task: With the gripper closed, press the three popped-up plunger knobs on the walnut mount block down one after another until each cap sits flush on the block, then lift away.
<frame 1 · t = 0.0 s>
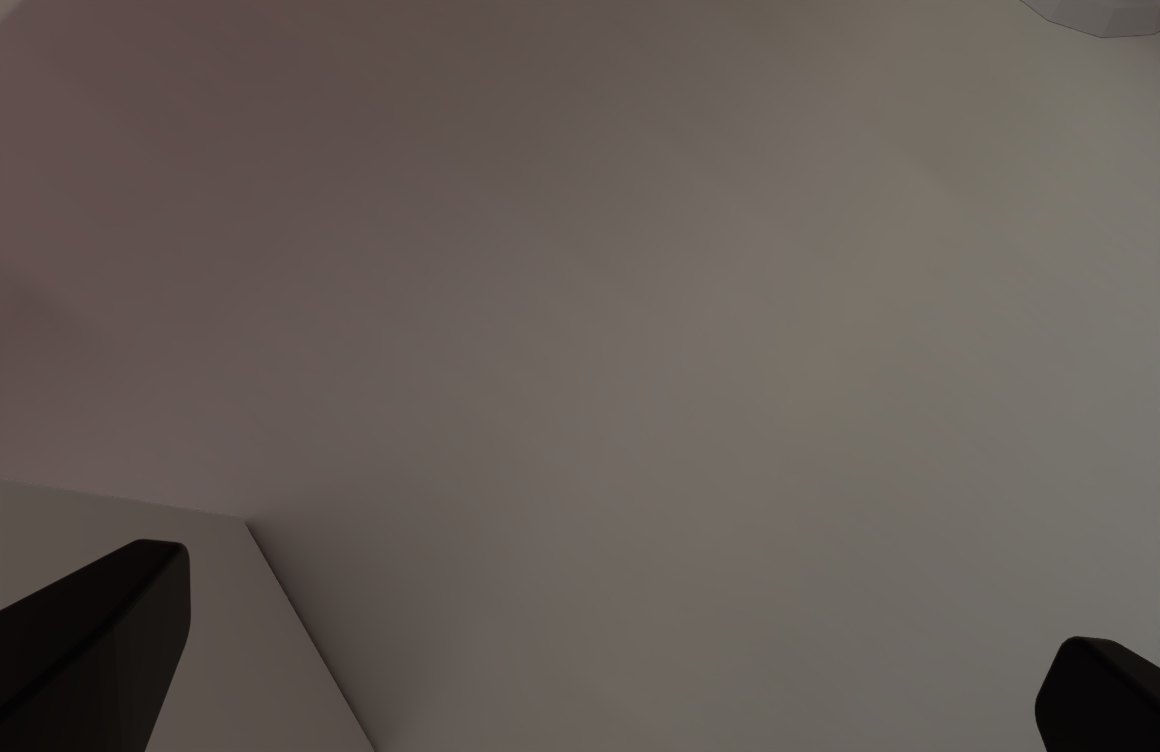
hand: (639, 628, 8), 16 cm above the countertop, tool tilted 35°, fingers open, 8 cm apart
milk carton: (187, 713, 22), on the countertop, touching gripper
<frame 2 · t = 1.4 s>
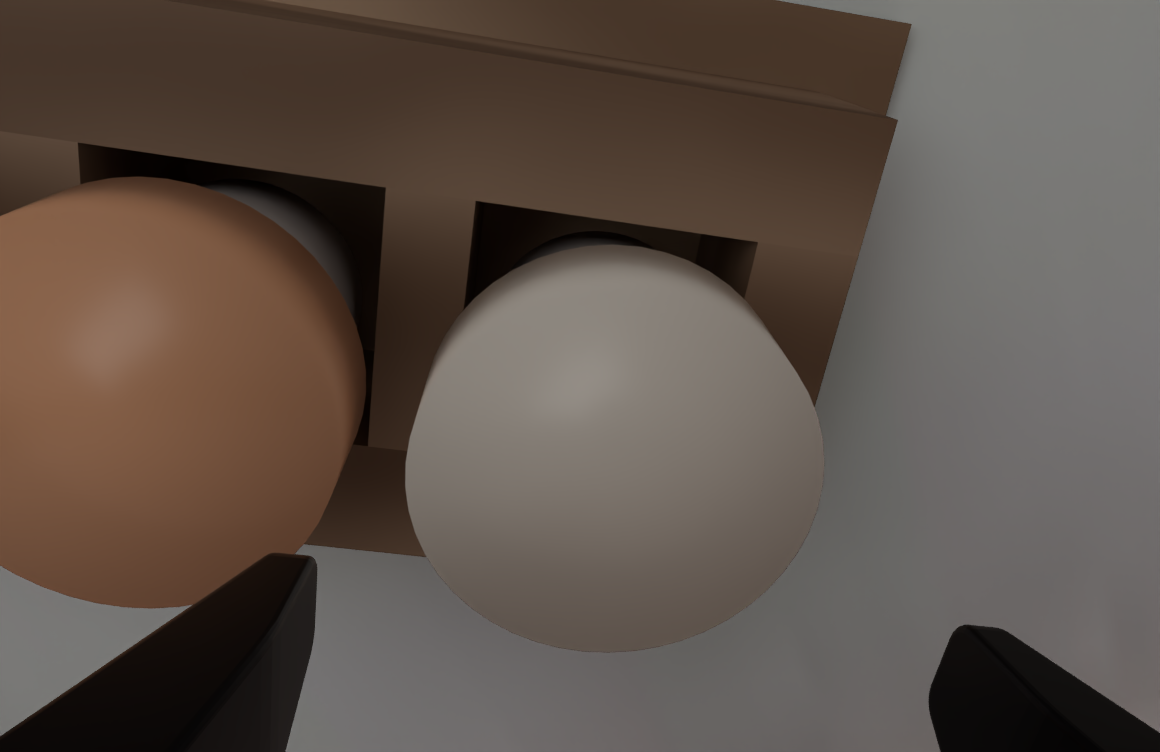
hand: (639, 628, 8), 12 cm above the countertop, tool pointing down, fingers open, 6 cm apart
mount: (307, 231, 19), on the countertop
knob 2: (602, 397, 13), point 7 cm above the countertop, slide at 2.5 cm
knob mid: (195, 345, 13), point 7 cm above the countertop, slide at 2.5 cm
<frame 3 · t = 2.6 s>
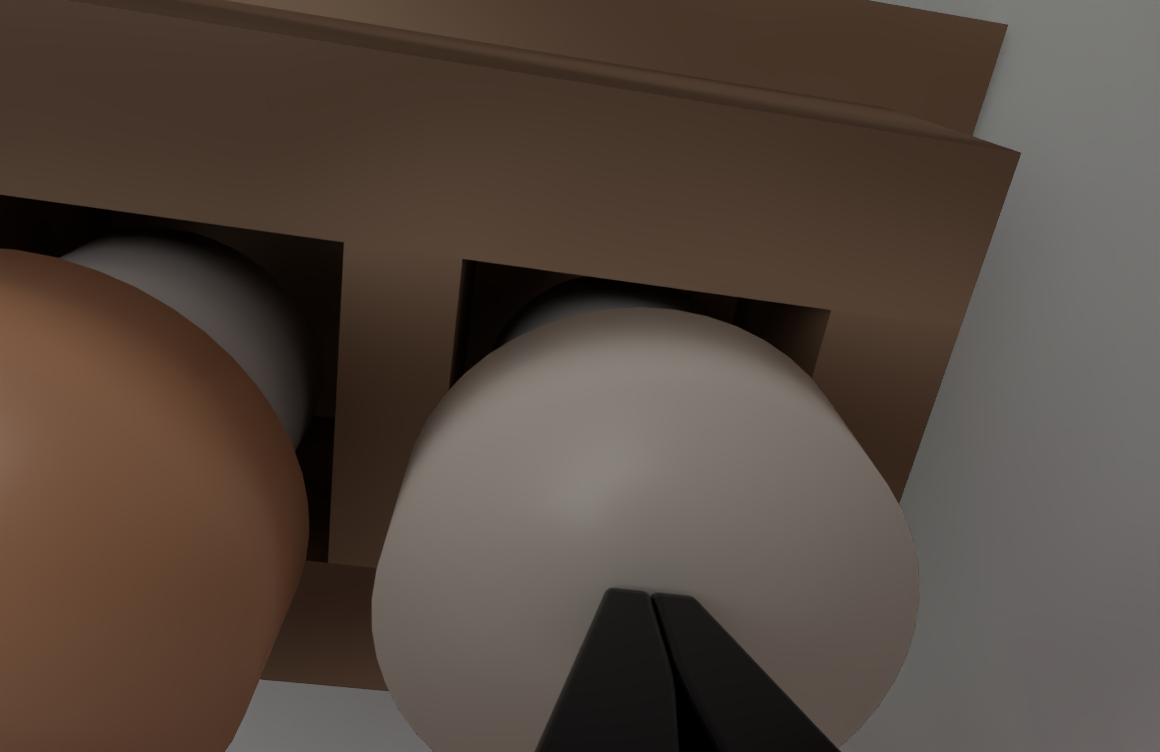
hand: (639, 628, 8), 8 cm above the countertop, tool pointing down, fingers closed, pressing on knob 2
mount: (264, 277, 16), on the countertop
knob 2: (624, 484, 11), point 6 cm above the countertop, slide at 1.6 cm, touching gripper
knob mid: (83, 461, 9), point 7 cm above the countertop, slide at 2.5 cm
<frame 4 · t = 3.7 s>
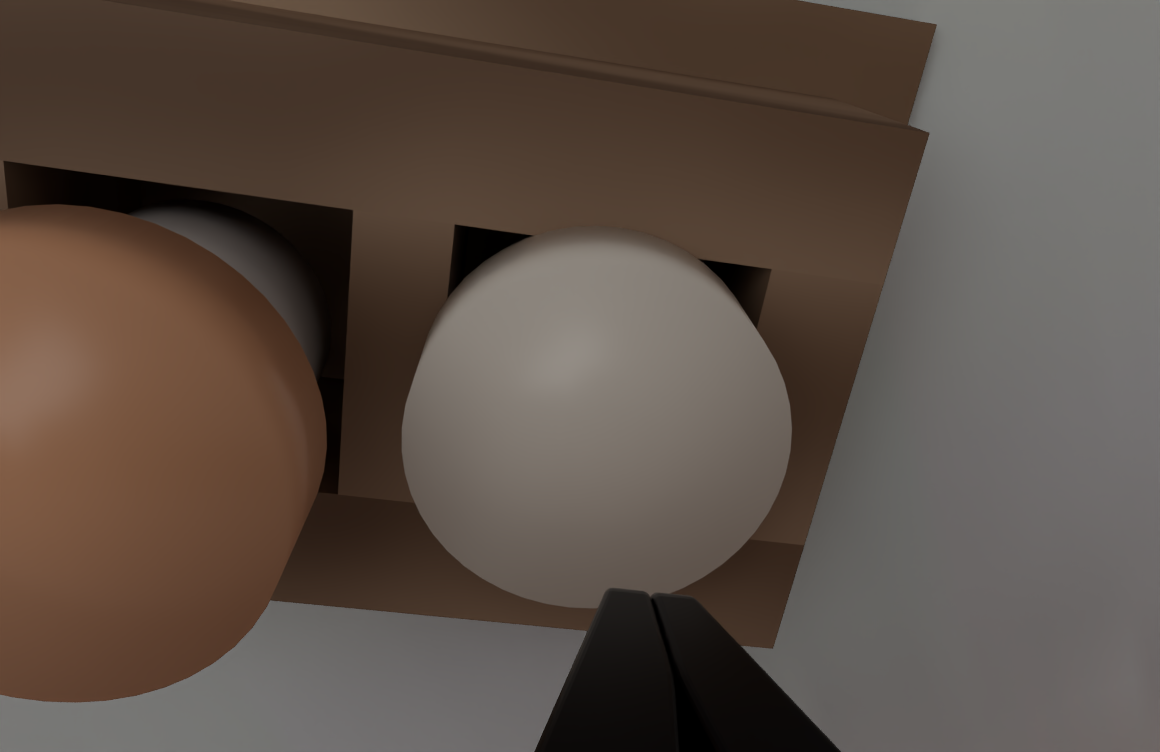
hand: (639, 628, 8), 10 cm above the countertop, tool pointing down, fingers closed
mount: (277, 251, 17), on the countertop
knob 2: (587, 371, 14), point 4 cm above the countertop, slide at 0.0 cm
knob mid: (134, 392, 11), point 7 cm above the countertop, slide at 2.5 cm
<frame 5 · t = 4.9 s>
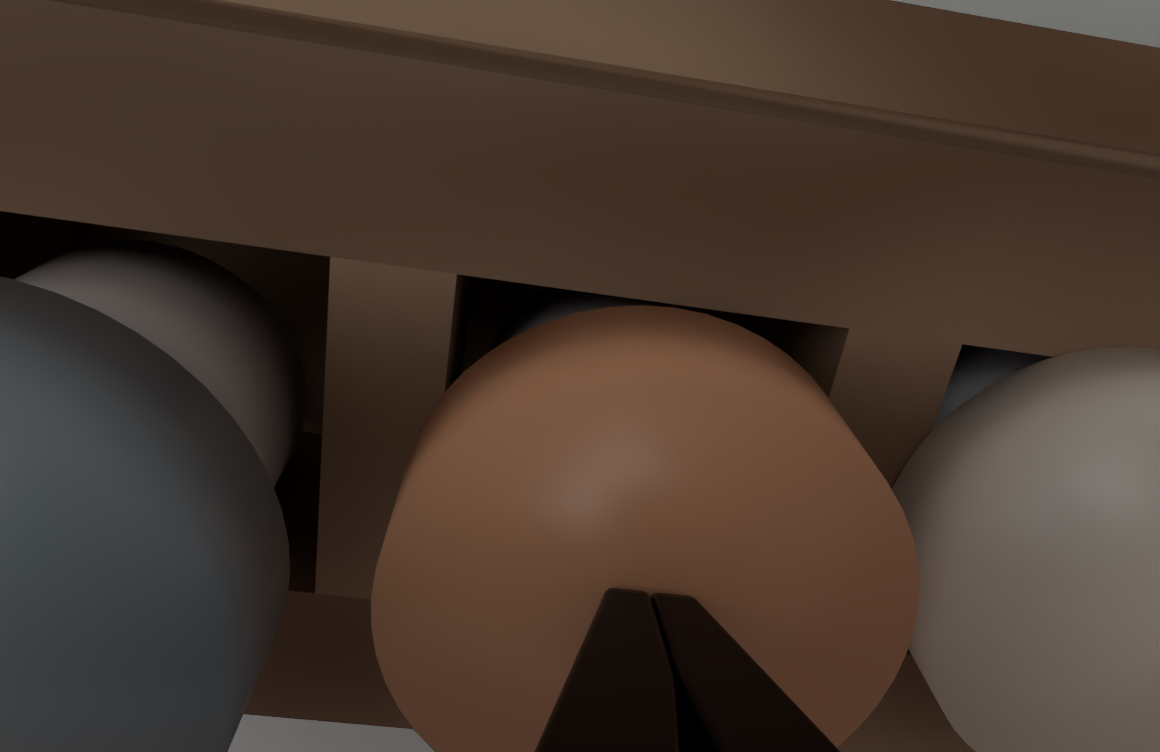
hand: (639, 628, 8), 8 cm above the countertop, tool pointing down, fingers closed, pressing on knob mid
knob 1: (48, 493, 9), point 7 cm above the countertop, slide at 2.5 cm
mount: (599, 334, 15), on the countertop
knob 2: (1039, 496, 12), point 4 cm above the countertop, slide at 0.0 cm
knob mid: (623, 483, 11), point 5 cm above the countertop, slide at 0.9 cm, touching gripper
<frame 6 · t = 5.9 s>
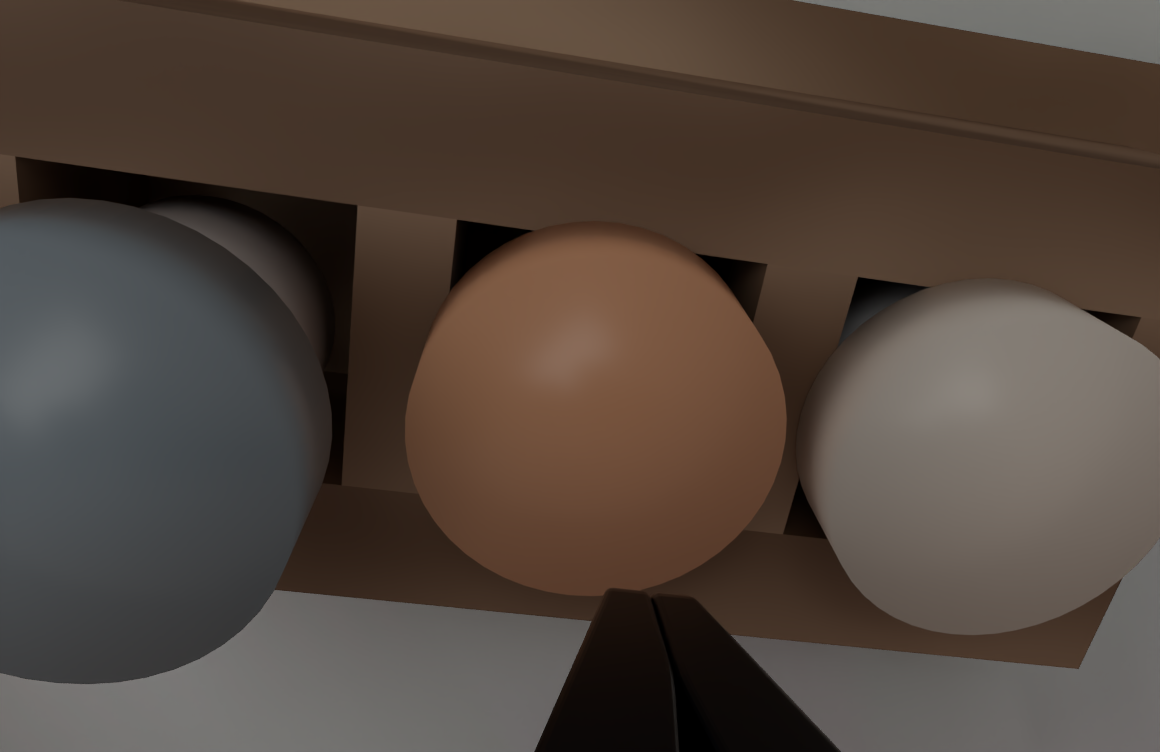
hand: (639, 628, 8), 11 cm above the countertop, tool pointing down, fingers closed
knob 1: (143, 382, 11), point 7 cm above the countertop, slide at 2.5 cm
mount: (577, 288, 18), on the countertop
knob 2: (933, 409, 15), point 4 cm above the countertop, slide at 0.0 cm
knob mid: (587, 365, 14), point 4 cm above the countertop, slide at -0.1 cm
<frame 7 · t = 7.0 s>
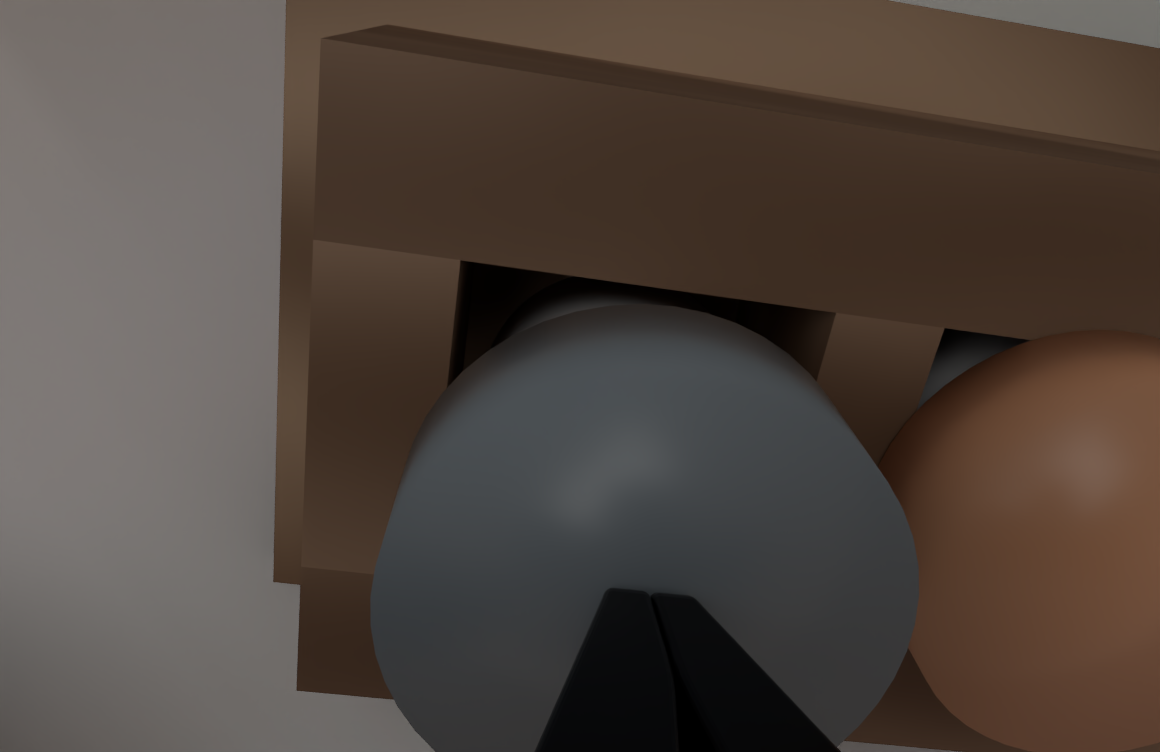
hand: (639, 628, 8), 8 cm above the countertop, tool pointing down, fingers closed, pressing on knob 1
knob 1: (623, 482, 11), point 6 cm above the countertop, slide at 1.4 cm, touching gripper
mount: (912, 366, 16), on the countertop
knob mid: (1021, 476, 13), point 4 cm above the countertop, slide at -0.1 cm
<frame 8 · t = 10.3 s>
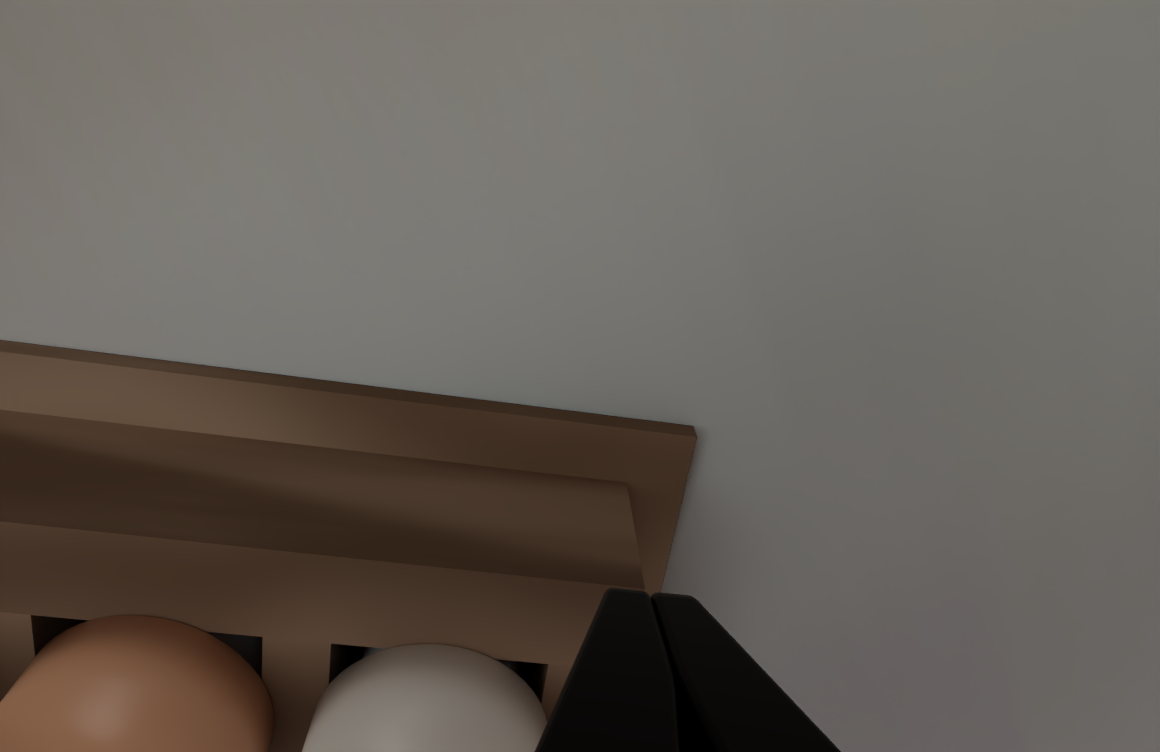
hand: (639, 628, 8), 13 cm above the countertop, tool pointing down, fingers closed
mount: (226, 573, 23), on the countertop
knob 2: (435, 708, 20), point 4 cm above the countertop, slide at 0.0 cm
knob mid: (166, 684, 20), point 4 cm above the countertop, slide at -0.1 cm
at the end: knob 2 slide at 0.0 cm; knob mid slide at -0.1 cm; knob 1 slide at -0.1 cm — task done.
